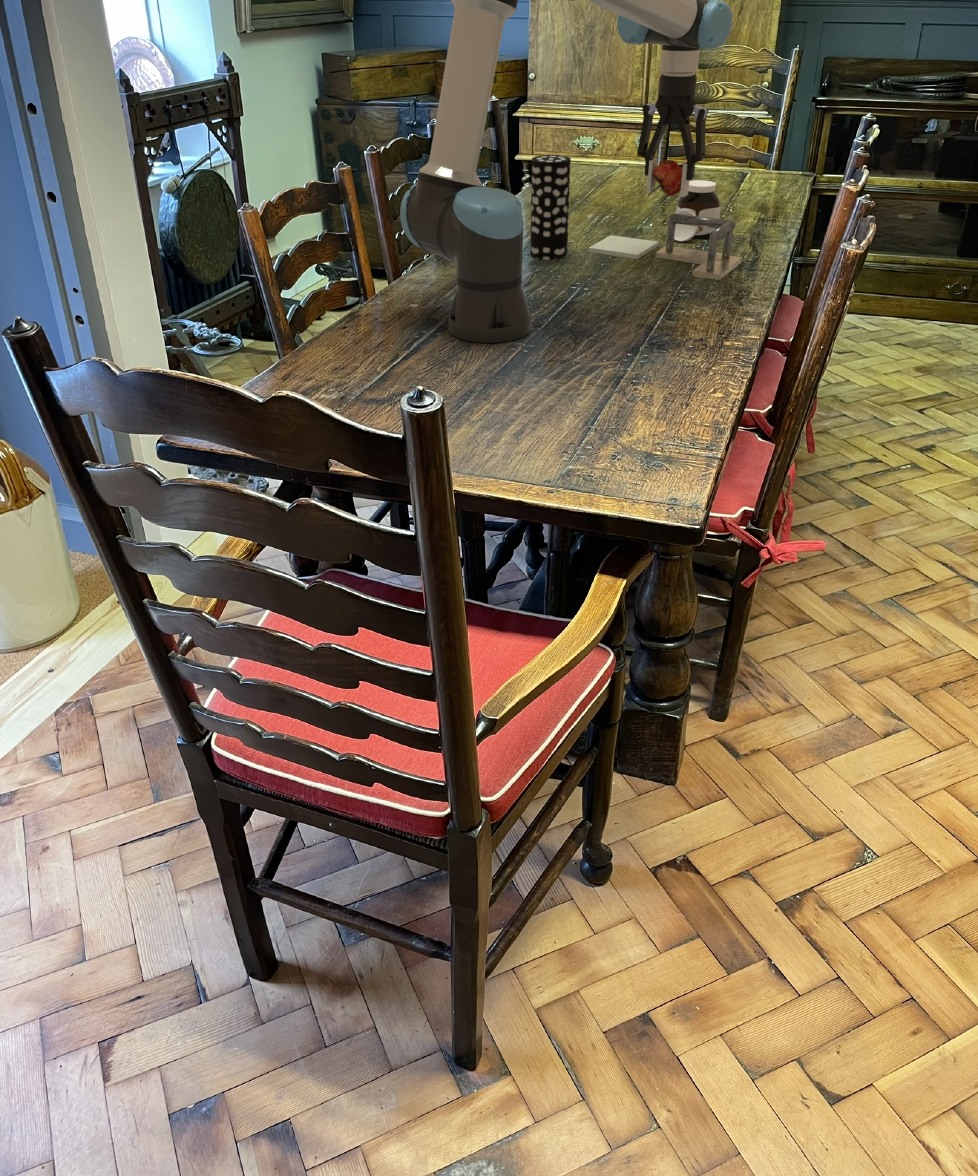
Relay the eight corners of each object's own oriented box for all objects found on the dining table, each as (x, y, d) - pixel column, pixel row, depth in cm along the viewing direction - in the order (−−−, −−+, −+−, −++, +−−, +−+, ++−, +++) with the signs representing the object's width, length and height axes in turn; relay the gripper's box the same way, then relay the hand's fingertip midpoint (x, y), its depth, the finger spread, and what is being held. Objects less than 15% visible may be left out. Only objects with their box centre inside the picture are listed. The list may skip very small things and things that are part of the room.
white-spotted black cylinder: (564, 260, 206) (568, 163, 195) (527, 259, 207) (528, 162, 196) (569, 250, 213) (573, 155, 201) (533, 249, 214) (535, 154, 203)
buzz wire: (719, 280, 193) (725, 235, 188) (639, 268, 201) (642, 224, 196) (742, 262, 204) (748, 218, 198) (665, 251, 211) (669, 209, 206)
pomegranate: (658, 211, 200) (698, 180, 196) (639, 181, 197) (680, 150, 194) (655, 206, 206) (694, 177, 203) (637, 178, 204) (676, 147, 200)
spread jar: (715, 231, 225) (721, 180, 218) (720, 244, 216) (726, 191, 209) (664, 230, 226) (669, 179, 219) (667, 243, 217) (672, 190, 210)
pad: (637, 259, 206) (637, 254, 206) (588, 252, 211) (588, 247, 211) (658, 246, 215) (658, 241, 214) (610, 239, 220) (610, 235, 219)
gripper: (732, 74, 187) (717, 195, 200) (640, 69, 195) (632, 186, 208) (719, 78, 182) (704, 202, 195) (625, 73, 190) (617, 192, 203)
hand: (667, 194), depth 202 cm, fingers closed on pomegranate, 7 cm apart
